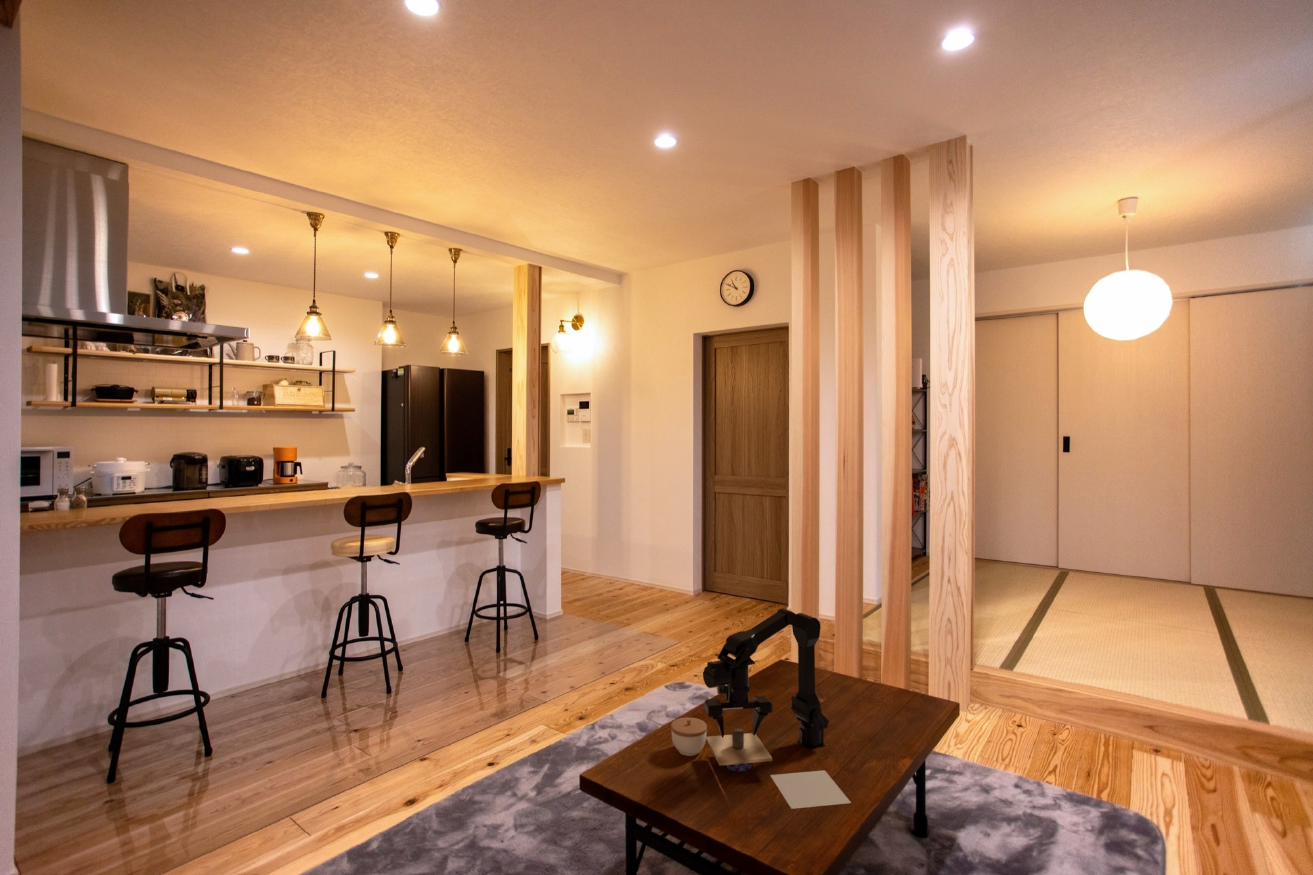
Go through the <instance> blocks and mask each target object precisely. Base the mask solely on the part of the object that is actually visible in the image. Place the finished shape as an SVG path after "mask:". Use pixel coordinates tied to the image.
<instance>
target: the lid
mask: <svg viewBox="0 0 1313 875" xmlns="http://www.w3.org/2000/svg"><path fill="white" fill-rule="evenodd" d="M706 743H707V744H708V746H709V748H710V750H711V752H712V755H713V756H714V758H715V760H716V761H717V763H718V765H719V767H720V766H725V765H732V764H743V763H751V764H754V763H764V762H773V757H772V755H771V754H770V752H769V751H768V749H767V748H766V746H765V745H764V744H763V743H762V741H761V739H760V737H758V735H757V733H756V734H755V735H753V734H752V732H749V733H748V732H747V733H745V732H744V729H741V728H734V729H732V734H724V737H723V738H722V737H721V735H712V736H711V735H710V736H706Z"/></svg>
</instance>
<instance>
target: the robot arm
mask: <svg viewBox="0 0 1313 875" xmlns="http://www.w3.org/2000/svg"><path fill="white" fill-rule="evenodd" d="M790 625H791V627H792V634H793V636H794V639H795V641H796V643H797V666H798V668H797V669H798V670H797V672H798V673H797V675H798V676H797V677H798V690H797V692H796V694H795V695H792V696H791V706H790V709H791V710H792V713H793V714H794V715H795V717H796V721H799V722H800V727H799V728H798V742H799V744H801V745H802V747H804V748H805V749H817V748H826V747H827V745H825V742H824V741H825V740H824V738H825V737H824V736H825V734H824V732H825V729H828V726H829V723H830V722H829V719H828V718H827V717H826V716H825V715H824V714H823V713H822V707H821V706H822V705H821V701H820V699H819V698H818V695H817V693H816V656H815V655H816V653H815V652H816V651H815V649H816V648H815V647H816V644H817V643H818V640H819V639H820V635H821V621H820V620H819V619H818V618H816V617H813V616H811V615H808V614H806V613H803V612H798V613H795V612H794V611H792V610H790V609H787V608H784V607H783V608H779V609H778V610H777V612H775V613H774V614H772V615H770V616H769V617H767V618H765V619H764V620H762V621H761V622H759V623H758V624H756V625H755V626H753V627H751V628H750V629H746V630H743V631H737V632H734V633H733V634H730V635H729V636H727V637H726V639H725V643H724V645H723V646H722V648H721V650H720V652H719V654H718V655H717V657H716V658H717V660H716V661H712V660H711V661H707V664H706V666H705V667H704V669H703V672H702V679H703V682H704V684H705V686H706V687H707V688H708V689H713V688H716V690H717V691H716V693H717V694H718V695H723V697H724V698H725V700H726V701H727V702H720V700H719V698H710V699H709V698H708V699H705V701H704V703H703V704H704V705H703V708H704V711H705V713H706V715H707V716H708V717H710V718H712V719H713V720H715V721H716V724H717V727H718V730H719V733H720V736H721V737H722V738H723V737H724V735H725V732H724V731H725V727H724V726H725V725H724V716H723V711H735V710H745V709H749V710H750V709H752V726H751V733H752V734H753V735H755V734H756V735H757V731H758V730H759V727H760V725H761V723H762V722H763V720H764V718H765V717H767V716H769V714H771V713H773V712H774V711H773V710H774V709H773V708H774V707H773V706H774V705H773V703H772V701H771V700H770V699H769V698H768V697H767V696H766V695H755V696H753V699H752V700H749V692H750V686H749V666H751V665H755V664H756V662H755V660H753V659H752V658H751V657H752V656H753V655H754V654H755V653H756V652H757V649H758V647H759V646H760V645H761V644H763V643H764V642H765V641H767V640H768V639H770V638H772V636H774V635H776V634H777V633H779V632H780V631H782V630H784V629H786V627H788V626H790ZM730 655H731V656H732V657H731V656H730ZM733 657H735V658H733Z"/></svg>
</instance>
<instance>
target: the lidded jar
mask: <svg viewBox="0 0 1313 875" xmlns="http://www.w3.org/2000/svg"><path fill="white" fill-rule="evenodd" d="M670 729H671V731H670V732H671V740H672V744H673V747H675V749H676V750H677V751H678V753H679V754H681V755H682V756H685V755H686V757H693V756H697V755H698V754H699V753H700V751H702V749H703V748H704V747H705V744H706V742H707V740H706V737H707V733H708V732H707V730H708V725H707V723H706V722H705V721H704V720H702V719H701V718H700V719H699V718H696V717H681V718H677V719H675V720H673V721H672V722H671V724H670Z"/></svg>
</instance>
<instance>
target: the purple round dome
mask: <svg viewBox="0 0 1313 875" xmlns="http://www.w3.org/2000/svg"><path fill="white" fill-rule="evenodd" d="M724 767H727V768H726V769H727V770H729V771H734V772H736V773H739V772H740V773H741V772H748V771H749V769H752V767H753V766H752V763H743V764H732V765H724Z"/></svg>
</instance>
